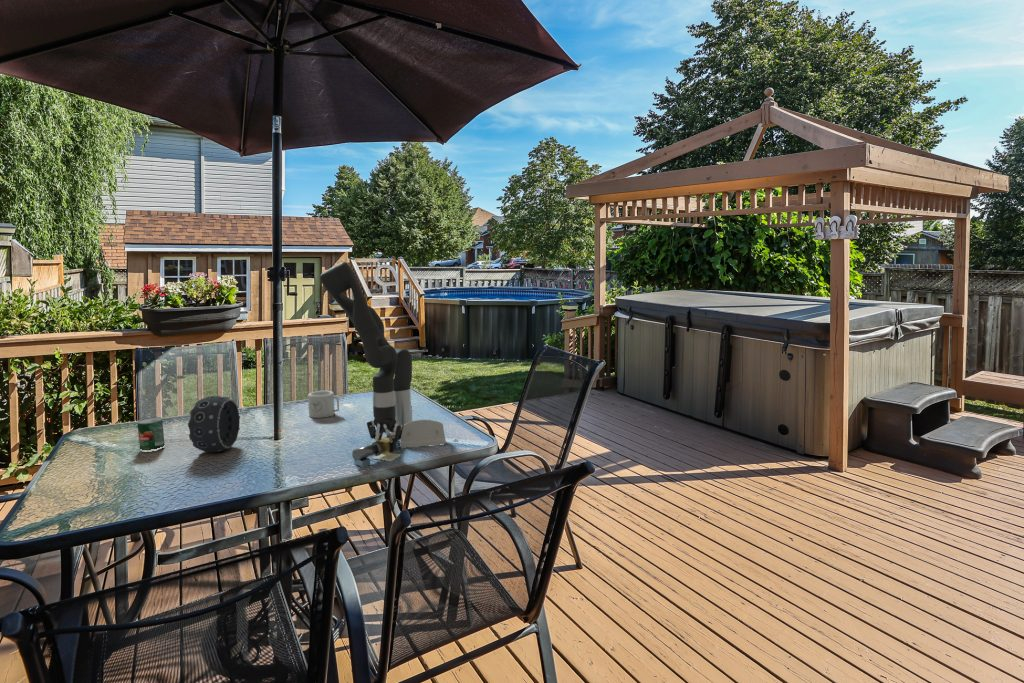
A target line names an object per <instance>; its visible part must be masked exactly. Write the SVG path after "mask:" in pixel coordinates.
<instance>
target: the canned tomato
mask: <svg viewBox="0 0 1024 683" xmlns="http://www.w3.org/2000/svg"><path fill="white" fill-rule="evenodd" d="M136 423H137V425H136V426H137V432H138V434H137V435H138V443H139V450H140V449H142V450H151V449H157V448H160V447H163V446H164V445H166V443H165V442H166V441H165V437H164V435H165V432H164V426H163V425H164V424H163V423H164V422H163V418H162V417H159V416H157V417H154V416H153V417H145V418H142V419H139V420H137V422H136Z"/></svg>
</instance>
